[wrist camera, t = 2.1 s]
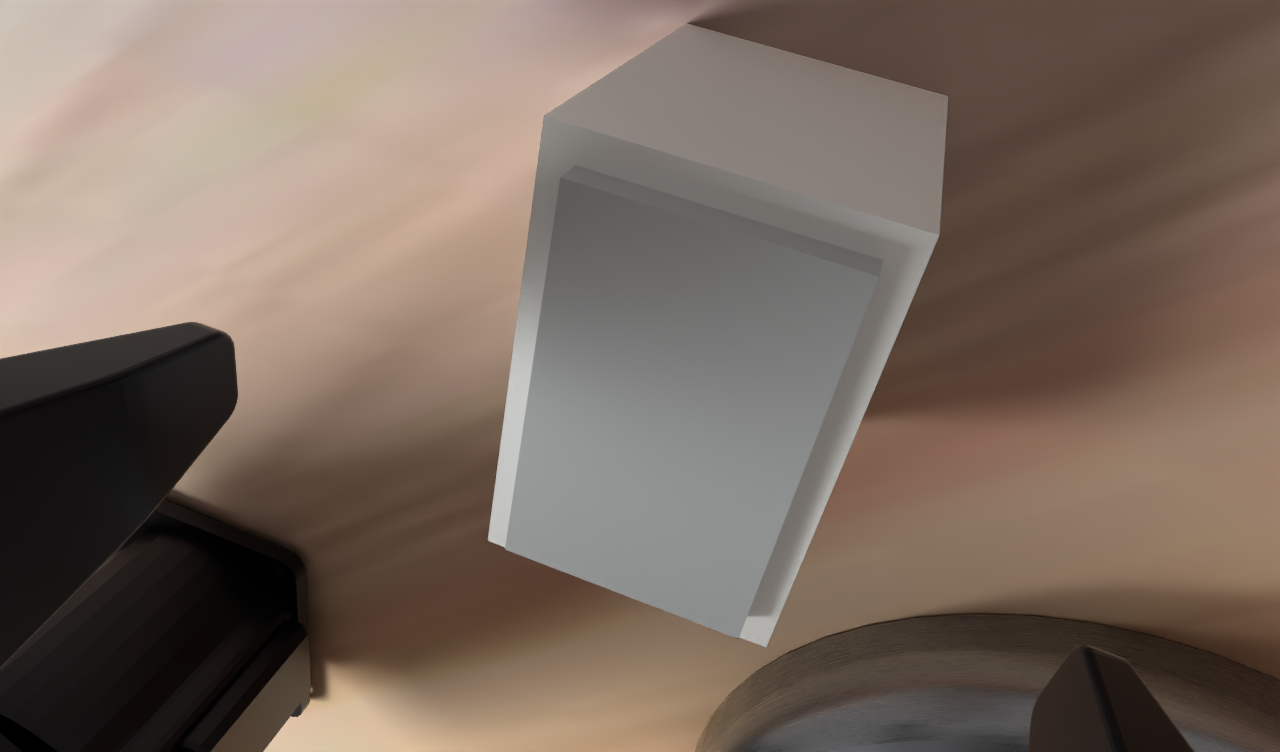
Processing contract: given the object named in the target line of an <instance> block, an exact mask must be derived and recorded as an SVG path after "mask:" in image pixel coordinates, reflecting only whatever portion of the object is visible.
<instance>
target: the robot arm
mask: <svg viewBox="0 0 1280 752" xmlns="http://www.w3.org/2000/svg"><path fill="white" fill-rule="evenodd" d="M237 398H238V387H237V374H236V361H235V348H234V343H233V341H232V339H231V337H230V336H229V335H228V334H227V333H225V332H223V331H221V330H218V329H215V328H212V327H209V326H207V325H204V324H201V323H197V322H188V323H182V324H177V325H172V326H167V327H162V328H156V329H151V330H146V331H141V332H136V333H131V334H125V335H120V336H115V337H110V338H105V339H100V340H94V341H89V342H84V343H79V344H74V345H69V346H64V347H58V348H53V349H48V350H43V351H38V352H33V353H27V354H22V355H17V356H12V357H7V358H2V359H0V752H263V751H264V750H265V748H266V747H267V746H268V745H269V743H270V742H271V741H272V739H273V738H274V737H275V736H276V734H277V733H278V732H279V730H280V729H281V728H282V726H283V725H284V724H285V723H286V721H287V720H288V719H289V717H290V716H292V717H298V716H299V715H301V714H302V712H303V711H304V710H305V708H306V707H307V706H308V704H309V702H310V689H311V678H310V645H309V633H308V619H307V588H306V568H305V565H304V563H303V561H302V560H301V558H299V557H298V556H297V555H296V554H295V553H293V552H292V551H290V550H288V549H285V548H283V547H280V546H278V545H275V544H273V543H270V542H268V541H265V540H263V539H260V538H258V537H255V536H253V535H250V534H248V533H245V532H243V531H240V530H238V529H235V528H233V527H230V526H228V525H225V524H223V523H221V522H218V521H216V520H213V519H211V518H208V517H206V516H203V515H201V514H198V513H196V512H193V511H191V510H188V509H186V508H183V507H181V506H178V505H176V504H173V503H171V502H168V501H166V500H164V499H165V497H166V496H167V495H168V494H169V492H170V491H171V490H172V489H173V487H174V486H175V485H176V484H177V482H178V481H179V480H180V479H181V477H182V476H183V475H184V474H185V472H186V471H187V470H188V469H189V467H190V466H191V465H192V464H193V462H194V461H195V460H196V459H197V457H198V456H199V455H200V454H201V452H202V451H203V450H204V449H205V448H206V446H207V445H208V444H209V443H210V441H211V440H212V439H213V438H214V436H215V435H216V434H217V433H218V431H219V430H220V429H221V428H222V426H223V425H224V424H225V423H226V421H227V420H228V419H229V417H230V416H231V414H232V413H233V411H234V409H235V406H236V403H237ZM1028 752H1195V751H1194V750H1193V749H1192V747H1191V746H1190V744H1189V743H1188V742H1187V740H1186V739H1185V738H1184V736H1183V735H1182V734H1181V732H1180V731H1179V729H1178V728H1177V727H1176V725H1175V724H1174V723H1173V721H1172V720H1171V719H1170V717H1169V716H1168V714H1167V713H1166V712H1165V710H1164V709H1163V708H1162V706H1161V705H1160V703H1159V702H1158V701H1157V699H1156V698H1155V697H1154V695H1153V694H1152V693H1151V691H1150V690H1149V688H1148V687H1147V686H1146V684H1145V683H1144V682H1143V680H1142V679H1141V678H1140V676H1139V675H1138V673H1137V672H1136V671H1135V669H1134V668H1133V667H1132V666H1131V665H1130V663H1129V662H1128V661H1126V660H1125V659H1124V658H1122V657H1120V656H1117V655H1114V654H1112V653H1109V652H1106V651H1103V650H1101V649H1098V648H1095V647H1092V646H1090V645H1078V646H1077V647H1075V648H1074V649H1073V650H1072V651H1071V652H1070V653H1069V654H1068V655H1067V657H1066V658H1065V660H1064V661H1063V662H1062V664H1061V665H1060V666H1059V668H1058V669H1057V671H1056V672H1055V673H1054V675H1053V676H1052V678H1051V679H1050V680H1049V682H1048V683H1047V685H1046V686H1045V687H1044V689H1043V690H1042V691H1041V693H1040V694H1039V696H1038V698H1037V700H1036V702H1035V705H1034V708H1033V711H1032V716H1031V723H1030V734H1029V745H1028Z"/></svg>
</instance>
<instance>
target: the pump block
mask: <svg viewBox="0 0 1280 752" xmlns="http://www.w3.org/2000/svg"><path fill="white" fill-rule="evenodd" d="M947 109H948V96H946V95H943V94H939V93H935V92H932V91H928V90H925V89H921V88H917V87H914V86H910V85H907V84H903V83H899V82H896V81H892V80H889V79H885V78H881V77H878V76H874V75H871V74H867V73H863V72H860V71H856V70H853V69H849V68H845V67H842V66H838V65H835V64H831V63H827V62H824V61H820V60H817V59H813V58H809V57H806V56H802V55H799V54H795V53H791V52H788V51H784V50H781V49H777V48H774V47H770V46H766V45H763V44H759V43H756V42H752V41H748V40H745V39H741V38H738V37H734V36H730V35H727V34H723V33H720V32H716V31H712V30H709V29H705V28H702V27H698V26H694V25H691V24H685V25H683V26H682V27H680V28H679V29H677V30H676V31H674V32H673V33H671V34H670V35H668V36H666V37H665V38H663V39H662V40H660V41H659V42H657V43H656V44H654V45H653V46H651V47H649V48H648V49H646V50H645V51H643V52H642V53H640V54H639V55H637V56H636V57H634V58H632V59H631V60H629V61H628V62H626V63H625V64H623V65H622V66H620V67H619V68H617V69H615V70H614V71H612V72H611V73H609V74H608V75H606V76H605V77H603V78H602V79H600V80H599V81H597V82H595V83H594V84H592V85H591V86H589V87H588V88H586V89H585V90H583V91H582V92H580V93H578V94H577V95H575V96H574V97H572V98H571V99H569V100H568V101H566V102H565V103H563V104H561V105H560V106H558V107H557V108H555V109H554V110H552V111H551V112H549V113H548V114H546V115H544V119H543V127H542V134H541V142H540V149H539V157H538V165H537V172H536V180H535V187H534V195H533V202H532V210H531V217H530V225H529V232H528V240H527V248H526V255H525V263H524V270H523V278H522V285H521V293H520V300H519V308H518V316H517V323H516V331H515V338H514V346H513V353H512V361H511V368H510V376H509V383H508V391H507V399H506V406H505V414H504V421H503V429H502V436H501V444H500V451H499V459H498V466H497V474H496V482H495V489H494V497H493V504H492V512H491V519H490V527H489V534H488V541H490V542H492V543H495V544H498V545H500V546H503V547H505V550H508V551H510V552H513V553H515V554H518V555H521V556H523V557H526V558H528V559H531V560H534V561H536V562H539V563H541V564H544V565H547V566H549V567H552V568H554V569H557V570H560V571H562V572H565V573H567V574H570V575H573V576H575V577H578V578H580V579H583V580H586V581H588V582H591V583H593V584H596V585H599V586H601V587H604V588H606V589H609V590H612V591H614V592H617V593H619V594H622V595H625V596H627V597H630V598H632V599H635V600H638V601H640V602H643V603H645V604H648V605H651V606H653V607H656V608H658V609H661V610H664V611H666V612H669V613H671V614H674V615H677V616H679V617H682V618H684V619H687V620H690V621H692V622H695V623H697V624H700V625H703V626H705V627H708V628H710V629H713V630H716V631H718V632H721V633H724V634H726V635H729V636H731V637H734V638H737V639H739V637H740V638H742V639H745V640H748V641H750V642H753V643H755V644H758V645H761V646H763V647H767V644H768V642H769V640H770V637H771V635H772V633H773V630H774V628H775V625H776V623H777V621H778V618H779V616H780V614H781V611H782V609H783V606H784V604H785V602H786V599H787V597H788V594H789V592H790V590H791V587H792V585H793V583H794V580H795V578H796V575H797V573H798V571H799V568H800V566H801V564H802V561H803V559H804V556H805V554H806V552H807V549H808V547H809V544H810V542H811V540H812V537H813V535H814V533H815V530H816V528H817V525H818V523H819V521H820V518H821V516H822V514H823V511H824V509H825V506H826V504H827V502H828V499H829V497H830V495H831V492H832V490H833V487H834V485H835V483H836V480H837V478H838V475H839V473H840V471H841V468H842V466H843V464H844V461H845V459H846V456H847V454H848V452H849V449H850V447H851V445H852V442H853V440H854V437H855V435H856V433H857V430H858V428H859V426H860V423H861V421H862V418H863V416H864V414H865V411H866V409H867V406H868V404H869V402H870V399H871V397H872V395H873V392H874V390H875V387H876V385H877V383H878V380H879V378H880V376H881V373H882V371H883V368H884V366H885V364H886V361H887V359H888V356H889V354H890V352H891V349H892V347H893V345H894V342H895V340H896V337H897V335H898V333H899V330H900V328H901V326H902V323H903V321H904V318H905V316H906V314H907V311H908V309H909V307H910V304H911V302H912V299H913V297H914V295H915V292H916V290H917V287H918V285H919V283H920V280H921V278H922V276H923V273H924V271H925V268H926V266H927V264H928V261H929V259H930V257H931V254H932V252H933V249H934V247H935V245H936V242H937V240H938V238H939V235H940V219H941V203H942V188H943V172H944V156H945V141H946V125H947Z"/></svg>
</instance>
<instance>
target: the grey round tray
mask: <svg viewBox="0 0 1280 752" xmlns="http://www.w3.org/2000/svg"><path fill="white" fill-rule="evenodd" d="M1078 645H1090V646H1092V647H1095V648H1098V649H1101V650H1103V651H1106V652H1109V653H1112V654H1114V655H1117V656H1120V657H1122V658H1124V659H1125V660H1126V661H1128V662H1129V663H1130V665H1131V666H1132V667H1133V668H1134V669H1135V671H1136V672H1137V673H1138V675H1139V676H1140V678H1141V679H1142V680H1143V682H1144V683H1145V684H1146V686H1147V687H1148V688H1149V690H1150V691H1151V693H1152V694H1153V695H1154V697H1155V698H1156V699H1157V701H1158V702H1159V703H1160V705H1161V706H1162V708H1163V709H1164V710H1165V712H1166V713H1167V714H1168V716H1169V717H1170V719H1171V720H1172V721H1173V723H1174V724H1175V725H1176V727H1177V728H1178V729H1179V731H1180V732H1181V734H1182V735H1183V736H1184V738H1185V739H1186V740H1187V742H1188V743H1189V744H1190V746H1191V747H1192V749H1193V750H1194V751H1195V752H1280V681H1278V680H1276V679H1274V678H1271V677H1269V676H1267V675H1264V674H1262V673H1259V672H1257V671H1254V670H1252V669H1250V668H1247V667H1245V666H1242V665H1240V664H1237V663H1235V662H1233V661H1230V660H1228V659H1225V658H1223V657H1220V656H1218V655H1215V654H1212V653H1209V652H1205V651H1202V650H1199V649H1196V648H1192V647H1189V646H1186V645H1182V644H1179V643H1176V642H1173V641H1169V640H1166V639H1163V638H1160V637H1156V636H1152V635H1147V634H1142V633H1138V632H1133V631H1128V630H1123V629H1119V628H1114V627H1109V626H1104V625H1100V624H1095V623H1088V622H1080V621H1071V620H1063V619H1055V618H1046V617H1038V616H1024V615H991V614H964V615H948V616H932V617H917V618H911V619H905V620H899V621H893V622H887V623H881V624H875V625H869V626H865V627H861V628H858V629H854V630H851V631H847V632H844V633H840V634H837V635H833V636H829V637H826V638H823V639H820V640H818V641H816V642H813V643H811V644H809V645H806V646H804V647H801V648H799V649H797V650H794V651H792V652H790V653H787V654H785V655H784V656H782V657H780V658H779V659H777V660H775V661H774V662H772V663H770V664H769V665H767V666H765V667H764V668H762V669H760V670H759V671H757V672H755V673H754V674H753V675H751V676H750V677H749V678H748V679H747V680H746V681H744V682H743V683H742V684H741V685H740V686H738V687H737V688H736V689H735V690H734V691H733V692H731V693H730V694H729V695H728V697H727V698H726V699H725V700H724V701H723V703H722V704H721V705H720V706H719V708H718V709H717V710H716V711H715V713H714V714H713V715H712V716H711V718H710V719H709V721H708V723H707V725H706V727H705V729H704V731H703V733H702V735H701V737H700V739H699V741H698V743H697V747H696V750H695V752H1028V745H1029V734H1030V723H1031V716H1032V711H1033V708H1034V705H1035V702H1036V700H1037V698H1038V696H1039V694H1040V693H1041V691H1042V690H1043V689H1044V687H1045V686H1046V685H1047V683H1048V682H1049V680H1050V679H1051V678H1052V676H1053V675H1054V673H1055V672H1056V671H1057V669H1058V668H1059V666H1060V665H1061V664H1062V662H1063V661H1064V660H1065V658H1066V657H1067V655H1068V654H1069V653H1070V652H1071V651H1072V650H1073V649H1074V648H1075V647H1077V646H1078Z"/></svg>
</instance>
